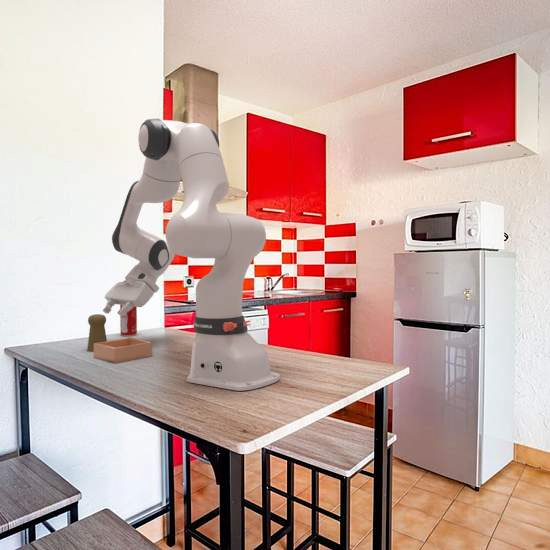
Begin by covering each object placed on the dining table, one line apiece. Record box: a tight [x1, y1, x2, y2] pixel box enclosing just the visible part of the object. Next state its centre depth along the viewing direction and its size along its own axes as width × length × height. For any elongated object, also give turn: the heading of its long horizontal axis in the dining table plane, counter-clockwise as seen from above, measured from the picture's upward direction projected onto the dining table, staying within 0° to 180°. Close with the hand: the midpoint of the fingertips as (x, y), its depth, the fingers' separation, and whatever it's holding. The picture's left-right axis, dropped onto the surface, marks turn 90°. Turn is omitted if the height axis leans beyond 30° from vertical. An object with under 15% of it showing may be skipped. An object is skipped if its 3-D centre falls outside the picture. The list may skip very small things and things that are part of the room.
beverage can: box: [119, 305, 138, 337], centre depth 160 cm, size 6×6×15 cm
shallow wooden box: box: [93, 337, 153, 364], centre depth 125 cm, size 12×12×4 cm
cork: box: [86, 313, 108, 353], centre depth 135 cm, size 6×6×11 cm
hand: (112, 313), depth 138 cm, fingers open, 8 cm apart
